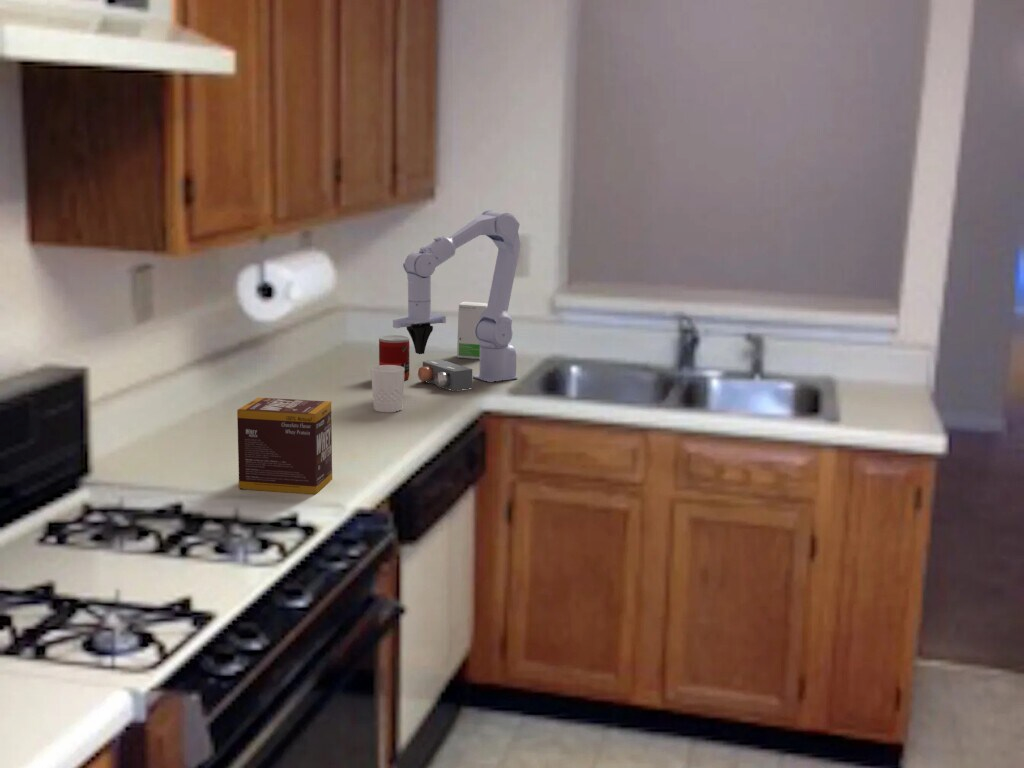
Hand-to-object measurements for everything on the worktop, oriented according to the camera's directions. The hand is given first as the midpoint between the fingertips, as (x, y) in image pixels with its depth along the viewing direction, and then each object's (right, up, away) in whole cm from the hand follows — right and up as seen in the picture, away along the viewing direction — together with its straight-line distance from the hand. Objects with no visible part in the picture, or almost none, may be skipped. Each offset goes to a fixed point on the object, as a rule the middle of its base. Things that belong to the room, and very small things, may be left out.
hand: (419, 353), depth 323 cm
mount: (+7, -8, +6) cm, 12 cm away
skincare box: (+12, 0, +43) cm, 45 cm away
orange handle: (+3, -7, +8) cm, 11 cm away
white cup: (-6, -14, -21) cm, 26 cm away
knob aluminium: (+8, -8, +2) cm, 11 cm away
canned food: (-8, -7, +13) cm, 16 cm away
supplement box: (-19, -27, -81) cm, 88 cm away
